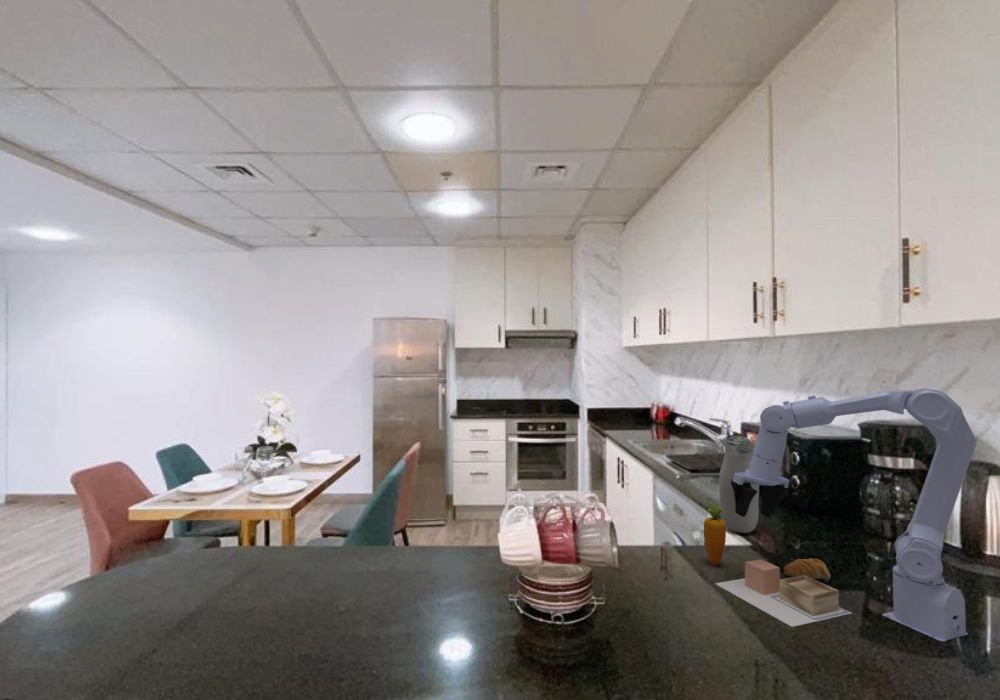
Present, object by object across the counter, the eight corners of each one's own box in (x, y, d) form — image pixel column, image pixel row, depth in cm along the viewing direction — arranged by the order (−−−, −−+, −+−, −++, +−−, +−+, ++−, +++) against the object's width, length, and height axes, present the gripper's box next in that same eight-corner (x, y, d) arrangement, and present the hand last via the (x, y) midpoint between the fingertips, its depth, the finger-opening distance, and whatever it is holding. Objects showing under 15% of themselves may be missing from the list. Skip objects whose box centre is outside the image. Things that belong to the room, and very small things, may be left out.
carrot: (729, 572, 108) (728, 507, 109) (706, 570, 109) (706, 505, 110) (723, 563, 113) (723, 501, 114) (701, 561, 114) (701, 499, 115)
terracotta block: (780, 592, 97) (779, 567, 98) (763, 595, 96) (763, 570, 96) (760, 582, 102) (760, 559, 102) (745, 585, 100) (744, 561, 100)
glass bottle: (712, 527, 140) (712, 434, 142) (739, 524, 143) (739, 433, 145) (738, 538, 131) (738, 438, 132) (766, 535, 134) (766, 438, 135)
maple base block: (838, 610, 90) (838, 590, 90) (813, 616, 88) (813, 595, 88) (804, 593, 97) (804, 575, 97) (779, 598, 94) (779, 579, 95)
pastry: (799, 585, 103) (799, 567, 103) (775, 572, 109) (774, 556, 110) (833, 581, 105) (833, 564, 105) (807, 569, 112) (807, 553, 112)
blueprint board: (852, 616, 89) (852, 612, 89) (791, 630, 84) (791, 626, 84) (769, 576, 106) (769, 573, 106) (714, 586, 101) (714, 583, 101)
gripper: (775, 453, 110) (761, 508, 111) (728, 448, 105) (714, 505, 106) (802, 464, 103) (788, 522, 104) (754, 460, 98) (739, 521, 99)
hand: (752, 515), depth 105 cm, fingers open, 7 cm apart
